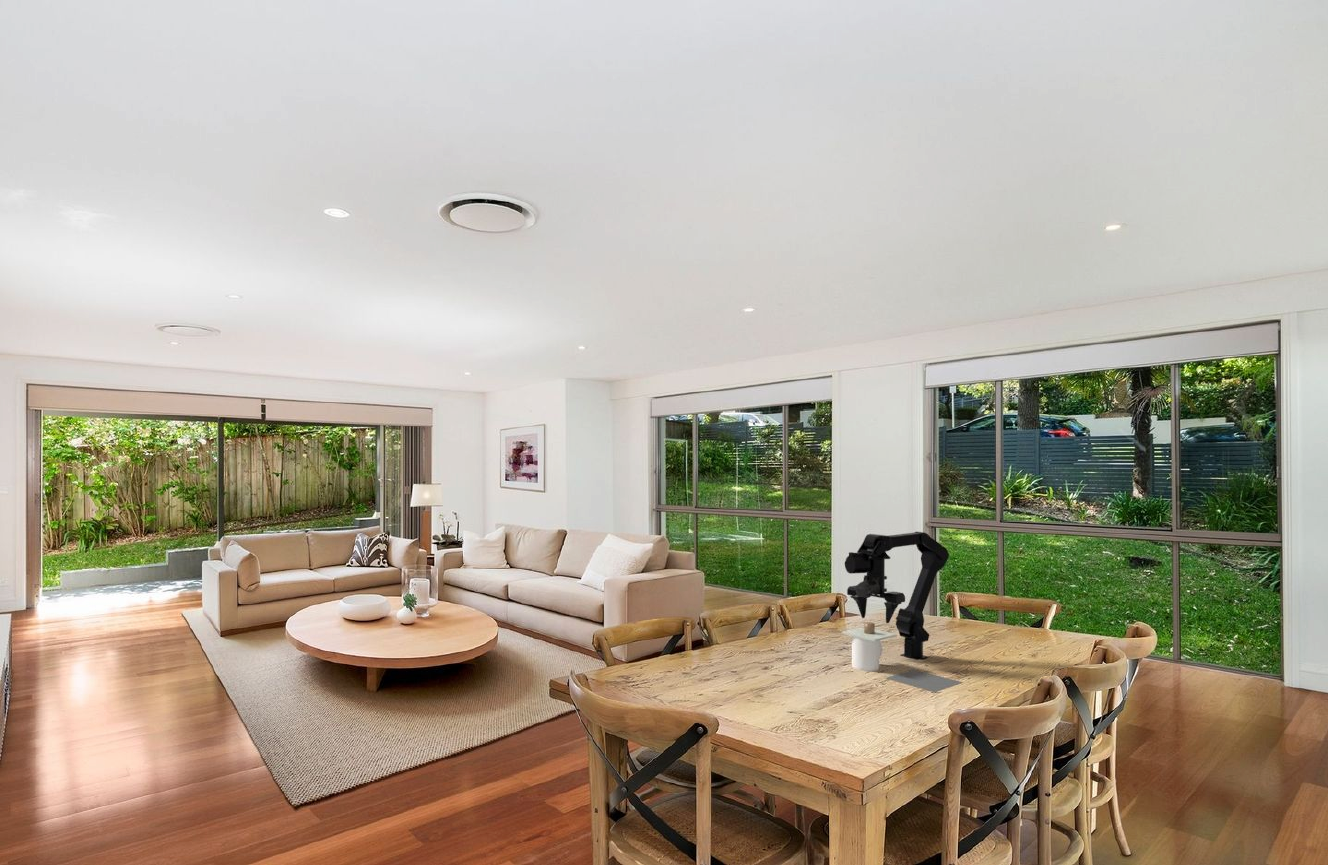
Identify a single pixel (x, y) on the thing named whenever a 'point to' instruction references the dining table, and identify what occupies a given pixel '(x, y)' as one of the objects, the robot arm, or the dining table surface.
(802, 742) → the dining table surface
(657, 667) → the dining table surface
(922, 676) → the mat
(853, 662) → the mug
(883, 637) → the panel
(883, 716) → the dining table surface
